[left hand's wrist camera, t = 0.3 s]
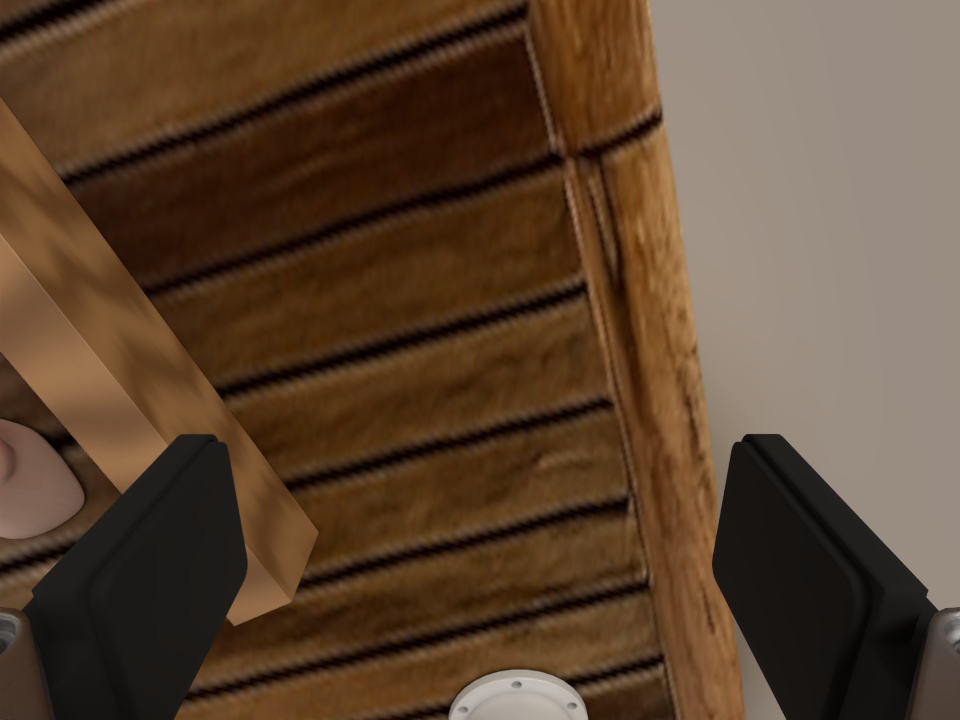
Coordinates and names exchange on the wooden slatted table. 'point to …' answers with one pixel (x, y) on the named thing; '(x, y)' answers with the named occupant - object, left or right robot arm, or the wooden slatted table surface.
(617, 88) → the wooden slatted table surface
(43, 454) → the anatomical model
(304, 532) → the bar
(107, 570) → the left robot arm
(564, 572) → the wooden slatted table surface
